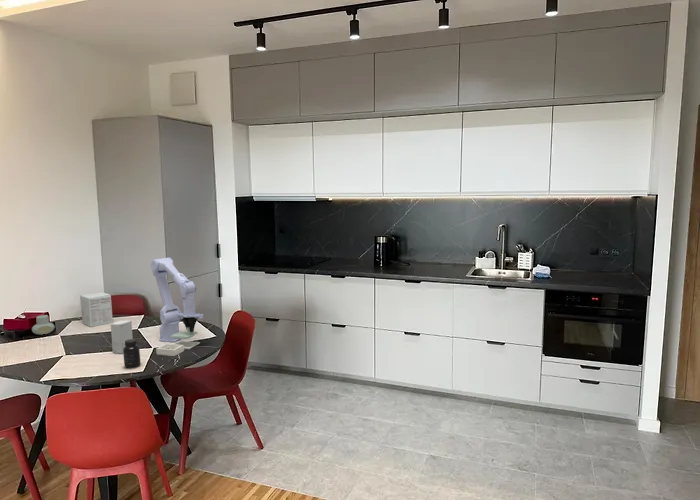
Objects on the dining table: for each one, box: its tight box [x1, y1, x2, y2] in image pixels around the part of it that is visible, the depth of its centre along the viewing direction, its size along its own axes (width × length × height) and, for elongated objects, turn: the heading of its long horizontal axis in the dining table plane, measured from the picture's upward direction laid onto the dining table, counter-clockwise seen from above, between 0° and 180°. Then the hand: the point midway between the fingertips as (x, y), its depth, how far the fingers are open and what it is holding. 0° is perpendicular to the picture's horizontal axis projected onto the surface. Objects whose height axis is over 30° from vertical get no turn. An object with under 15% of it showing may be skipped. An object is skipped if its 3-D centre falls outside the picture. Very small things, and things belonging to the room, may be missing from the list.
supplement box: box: [79, 291, 114, 328], centre depth 295 cm, size 13×13×18 cm
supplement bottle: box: [122, 338, 141, 369], centre depth 222 cm, size 7×7×12 cm
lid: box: [170, 326, 198, 340], centre depth 251 cm, size 10×8×6 cm
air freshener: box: [31, 314, 56, 336], centre depth 275 cm, size 11×8×10 cm
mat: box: [174, 340, 201, 350], centre depth 252 cm, size 12×10×1 cm
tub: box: [155, 343, 185, 357], centre depth 240 cm, size 10×8×3 cm
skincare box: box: [110, 319, 134, 355], centre depth 243 cm, size 8×6×15 cm
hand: (190, 331), depth 250 cm, fingers closed on lid
